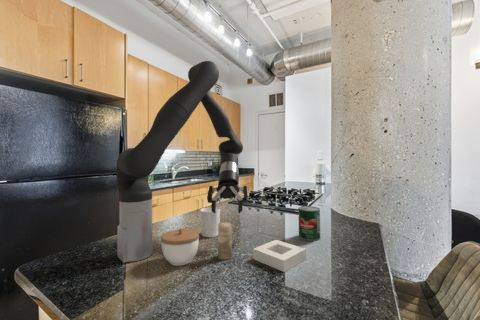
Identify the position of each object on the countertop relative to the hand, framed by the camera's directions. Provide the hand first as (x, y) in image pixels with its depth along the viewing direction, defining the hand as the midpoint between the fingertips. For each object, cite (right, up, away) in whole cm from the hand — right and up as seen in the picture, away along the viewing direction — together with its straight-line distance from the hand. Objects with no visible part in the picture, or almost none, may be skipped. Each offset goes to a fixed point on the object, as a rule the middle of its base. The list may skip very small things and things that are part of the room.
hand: (226, 212), depth 75 cm
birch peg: (0, -12, -7) cm, 14 cm away
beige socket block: (+16, -12, -9) cm, 22 cm away
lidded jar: (-13, -12, -10) cm, 20 cm away
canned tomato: (+31, -12, +9) cm, 34 cm away
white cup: (-7, -12, +13) cm, 19 cm away
